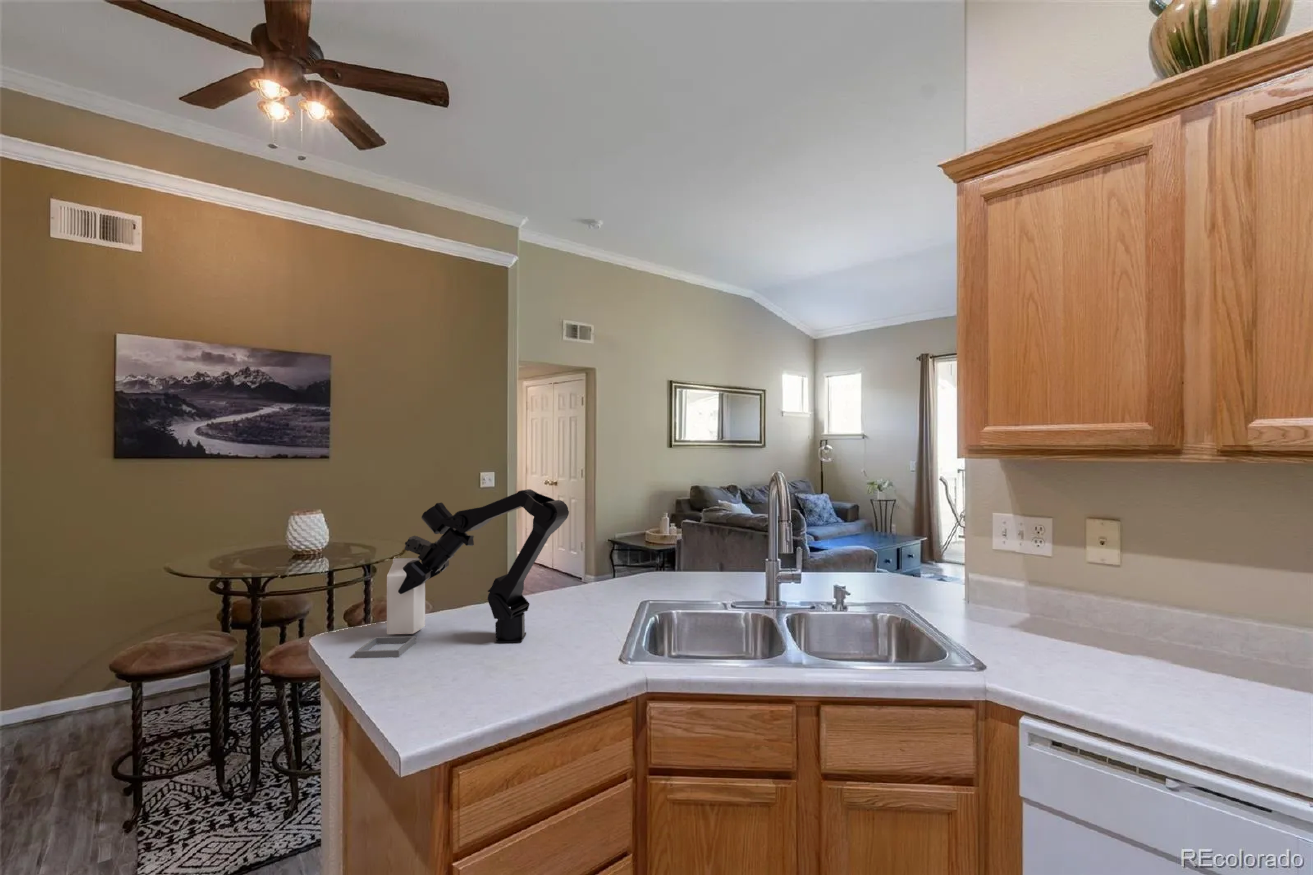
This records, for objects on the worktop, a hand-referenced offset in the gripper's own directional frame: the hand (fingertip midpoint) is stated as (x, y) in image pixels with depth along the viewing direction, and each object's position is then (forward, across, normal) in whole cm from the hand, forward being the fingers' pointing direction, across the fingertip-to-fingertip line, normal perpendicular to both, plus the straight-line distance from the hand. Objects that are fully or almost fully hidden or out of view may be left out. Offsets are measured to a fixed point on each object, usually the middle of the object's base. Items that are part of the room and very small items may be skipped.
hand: (405, 589), depth 153 cm
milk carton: (+8, +1, +8) cm, 11 cm away
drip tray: (+8, +12, +8) cm, 17 cm away
